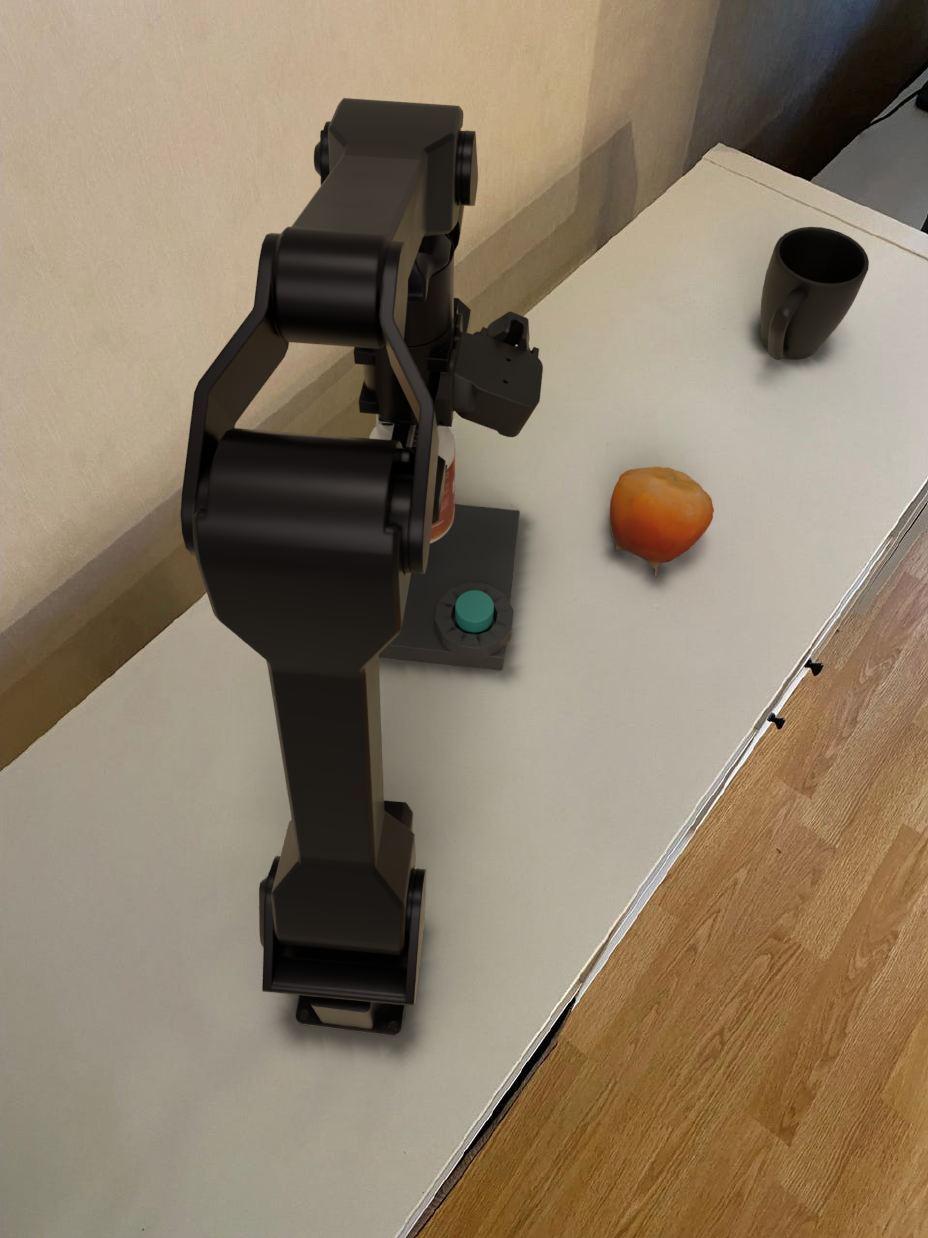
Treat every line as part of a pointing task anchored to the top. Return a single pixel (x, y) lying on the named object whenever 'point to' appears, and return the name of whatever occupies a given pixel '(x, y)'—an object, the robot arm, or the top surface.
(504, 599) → the scale
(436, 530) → the pill bottle
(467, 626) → the button
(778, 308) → the mug
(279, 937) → the robot arm
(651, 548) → the fruit
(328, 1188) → the top surface
